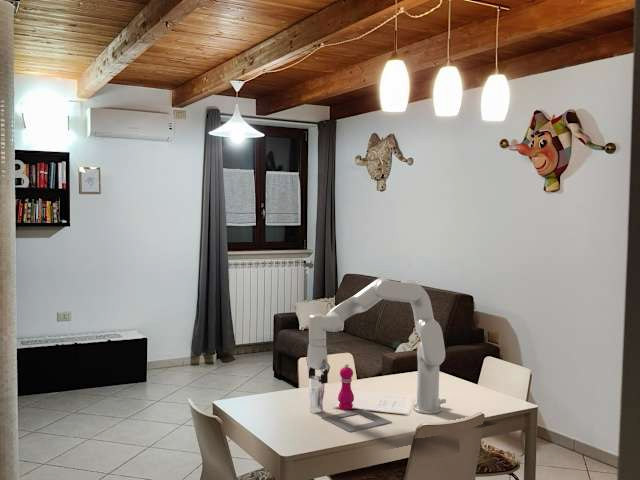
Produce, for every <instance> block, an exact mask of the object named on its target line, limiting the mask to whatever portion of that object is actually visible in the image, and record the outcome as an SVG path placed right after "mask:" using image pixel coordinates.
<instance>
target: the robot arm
mask: <svg viewBox="0 0 640 480" xmlns="http://www.w3.org/2000/svg"><path fill="white" fill-rule="evenodd" d="M382 300H386V301H393V302H399V303H400V302H402V303H410V305H411V309H412V312H413V319H414V327H415V331H416V334H417V335H418V336H419V337H420V339H421V341H420V342H419V344H418V345H417V349H416V356H417V357H416V358H417V388H416V389H417V392H416V393H417V394H416V403H415V404H414V405H413V406H412V407H413V410H414V411H415V412H418V413H421V414H428V415H433V414H440V413H441V412H442V411H443V408H442V406H441V405H442V404H446V403H447V400H446V398H441V399H440V397H439V395H440V394H439V392H440V366H441V365H442V363H444V361H445V359H446V349H445V348H446V347H445V341H444V335H443V330H442V326H441V325H440V323H439V322H438V321H437V320H435V318H434V311H433V308H432V301H431V299H430V295H428V292H427V291H426V290H425V288H423V287H422V286H421V285H420V284H419V283H417V282H415V281H412V280H410V279H404V280H401V281H397V280H390V279H388V278H386V277H378V278H376V279H375V280H374V281H372V282H371V283H370V284H368V285H367V286H365V287H364V288H363V289H361V290H360V291H359V292H357V293H355V294H354V295H353V296H350V297H349V298H348V299H346V300H343V302H340V303H339V304H338V305H336V306H335V307H333V308H331V310H330V311H328V312H327V314H326V315H324V314H323V313H312V314H310V315H309V316H308V346H307V355H306V356H307V357H306V359H305V361H306V365H307V370H308V379H309V380H310V377H311V376H316V371H320V373H321V374H320V376H321V384H324V383H325V384H328V382H329V381H328V380H329V378H328V377H329V375H328V374H329V373H330V369H331V366H330V363H328V362H329V361H328V350H327V332H332V333H333V332H335V333H336V332H340V331H342V330H343V328H344V325H345V321H346V320H347V319H349V318H351V317H352V316H354V315H356V314H361V313H364V312H366V311H368V310H369V309H371V308H372V307H373V306H375V305H376V304H377V303H379V302H380V301H382Z"/></svg>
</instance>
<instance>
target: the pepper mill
mask: <svg viewBox="0 0 640 480" xmlns="http://www.w3.org/2000/svg"><path fill="white" fill-rule="evenodd" d="M353 375H354V371H353V369H352V368H351V367H349V364H347V363H345V364H344V367H342V368H341V369H340V370H339V376H340V382H341V388H340V391H339V393H338V396H337V401H338V402H339V403H338V409H340V410H342V411H343V410H344V411H349V410H351V411H352V410H353V408H354V407H353V406H354V404H353V402H354V401H355V396H354V393H353V390H352V386H351V385H352V382H353V381H352V380H353V378H352V377H353ZM352 407H353V408H352Z"/></svg>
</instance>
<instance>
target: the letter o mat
mask: <svg viewBox="0 0 640 480" xmlns="http://www.w3.org/2000/svg"><path fill="white" fill-rule="evenodd" d="M357 415H361V416H362V417H365V418H367V419H370V420H371V422H367V423H366V422H365V423H364V424H363V423H362V424H358V425H352V424H349V423H348V422H346V421H344V420H342V419H343V418H348V417H352V416H357ZM321 419H322V420H324V421H327V422H328V423H330V424H333V425H334V426H336V427H338V428H341V429H342V430H344V431H346V432H348V433H354V432H358V431H362V430H366V429H370V428H374V427H375V428H376V427H379V426H384V425H387V424H389V425H390V424H392V423H393V422H392V421H391V420H389V419H388V418H387V419H386V418H384V417H382V416H379V415H377V414H375V413H373V412H371V411H368V410H367V409H364V408H360V409H356V410H351V411H346V412H341V413H337V414H332V415H325V416H322V417H321Z"/></svg>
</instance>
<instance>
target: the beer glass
mask: <svg viewBox="0 0 640 480" xmlns="http://www.w3.org/2000/svg"><path fill="white" fill-rule="evenodd" d="M325 386H326V383H324V384H321V375H315V376H311V377H310V379H309V381H308V391H309V392H308V393H309V399H310V407H309V412H310V413H311V414H321V413H323V412H324V406H323V405H324V404H323V402H324V396H325V391H326V390H325Z"/></svg>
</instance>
